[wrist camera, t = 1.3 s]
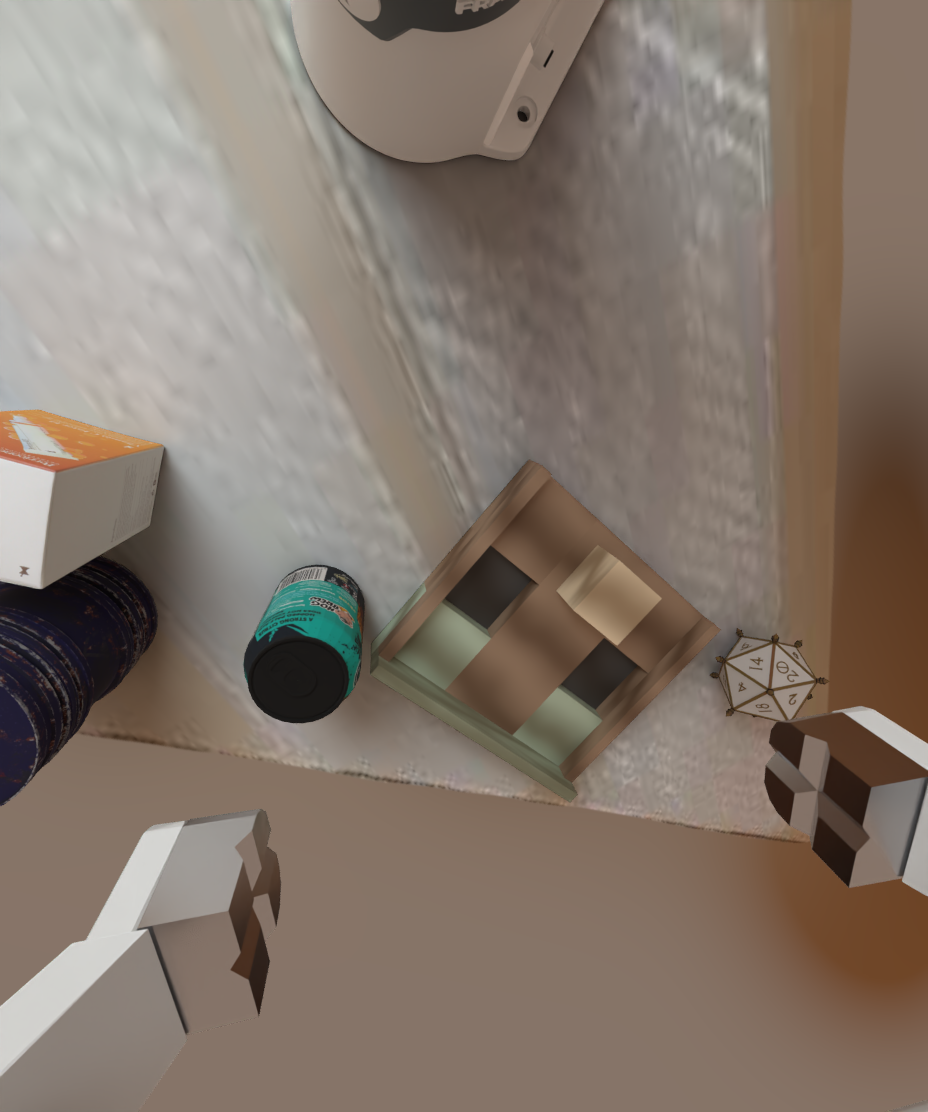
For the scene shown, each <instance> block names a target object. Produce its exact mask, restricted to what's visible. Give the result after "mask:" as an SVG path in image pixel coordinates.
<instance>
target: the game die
mask: <svg viewBox="0 0 928 1112" xmlns="http://www.w3.org/2000/svg"><path fill="white" fill-rule="evenodd" d="M736 633H737V634H738V636H739V637H740V638H739V640H738V641H737V642H736V644H735V645H734V647H733V648H732V649H731V651H730V652H729V653H728V655H727V656H726V658H725V659H724V658H723V657H721V656H719V657H715V658H716V660H717V662H720V663H722V666H721V669H720V671H719V674H718V673H713V672H712V674H710V676H712V677H713V678H717V677H719V679H720V681H721V684H722V686H723V689H724V691H725V693H726V696H727V698H728V701H729V703H730V706H731V709H728V711H726V716H732V714H733V712H734V711H737V712H741V713H745V714H749V715H752V716H753V717H757V716H758V717H762V718H766V719H770V720H774V721H778V722H779V721H784V720H790V719H794V718H795V716H796V715H797V713H798V712H799V710H800V709H801V707H802V705H803V704H804V702H805V701H806V699H808V700H809V699H811V698H813V697H812V694H810V693H811V692H812V690H813V688H814V687H815V685H816V684H817V683H820V684H826V683H828V682H829V681H828V680H826V679H825V678H824V677H823V678H821V677H820V678H818V679H817V678H816V677H815V676H814V674H813V672H812V671H811V669H810V668H809V666H808V665H807V663H806V661H805V660H804V658H803V657H802V655H801V654H800V652H799V650H798V649H797V648H798V647H800V646H802V640H800V641H796V642H795V645H794V646H793V645H789V644H785V643H780V642H778V640H779V637H778V635H777V634H775V635H774V636H772V638H771V639H772V641H771V640H765V639H759V638H752V637H746V636H743V633H742V630H740V629H738V628H737V632H736Z"/></svg>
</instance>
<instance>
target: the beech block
mask: <svg viewBox="0 0 928 1112" xmlns="http://www.w3.org/2000/svg"><path fill="white" fill-rule="evenodd" d="M556 591H557V592H558V593H559V594H560V596H561V597H562V598H563V599H564V600H565V601H566V602H567V604H568V605H569V606H570V607H571V608H572V609H573V610H574V611H575V612H576V613H577V614H579V615H580V616H581V617H582V618H584V619H585V620H586V621H587V622H588V623H590V624H591V625H592V626H593V627H595V628H596V629H597V630H598V631H599V632H601V633H602V634H603V635H604V636H606V637H607V638H608V639H609V640H611V641H612V642H613V643H614V644H615V645H617V646H618V644H619V643H620V642H621V641H622V640H623V639H624V638H625V637H626V636H627V635H628V634H629V633H630V632H631V631H632V630H633V629H634V628H635V626H636V625H637V624H638V623H639V622H640V621H641V620H642V619H643V618H644V617H645V616H646V615H647V614H648V613H649V612H650V611H651V610H652V608H653V607H654V606H655V605H656V604H657V603H658V602H659V601H660V600H661V599H662V598H661V597H660V596H659V595H658V594H656V593H655V592H654V591H653V590H652V589H651V588H650V587H649V586H648V585H646V584H645V583H644V582H643V581H642V580H641V579H640V578H639V577H637V576H636V575H635V574H634V573H633V572H632V571H631V570H630V569H629V568H627V567H626V566H625V565H624V564H623V563H622V562H621V561H620V560H618V559H617V558H615V557H614V556H613V555H611V554H610V553H608V552H607V551H606V550H604V549H603V548H601V547H600V546H598V545H597V546H596V547H595V548H594V550H593V551H592V552H591V553H590V554H589V555H588V556H587V557H586V558H585V559H584V561H583V562H582V563H581V564H580V565H579V566H578V567H577V568H576V569H575V571H574V572H573V573H572V574H571V575H570V576H569V577H568V578H567V579H566V580H565V582H564V583H563V584H562V585H561V586H560V587H559V588H558V589H557V590H556Z"/></svg>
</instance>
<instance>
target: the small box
mask: <svg viewBox="0 0 928 1112" xmlns="http://www.w3.org/2000/svg"><path fill="white" fill-rule="evenodd" d="M163 451H164V446H163V445H162V444H157V443H153V442H149V441H145V440H141V439H137V438H134V437H130V436H127V435H123V434H120V433H116V432H113V431H109V430H105V429H102V428H98V427H95V426H92V425H88V424H85V423H82V422H78V421H75V420H71V419H68V418H65V417H61V416H58V415H55V414H52V413H48V412H45V411H42V410H23V411H2V412H0V581H3V582H7V583H13V584H18V585H22V586H27V587H32V588H36V589H43V588H45V587H46V586H48V585H50V584H51V583H53V582H55V581H56V580H58V579H60V578H62V577H63V576H65V575H67V574H68V573H70V572H72V571H74V570H75V569H77V568H79V567H80V566H82V565H84V564H86V563H87V562H89V561H91V560H92V559H94V558H96V557H98V556H99V555H101V554H103V553H105V552H106V551H108V550H110V549H111V548H113V547H115V546H117V545H118V544H120V543H122V542H123V541H125V540H127V539H128V538H130V537H132V536H134V535H135V534H137V533H139V532H141V531H142V530H144V529H146V528H147V527H149V526H150V522H151V517H152V511H153V506H154V500H155V495H156V489H157V483H158V477H159V472H160V466H161V461H162V456H163Z"/></svg>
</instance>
